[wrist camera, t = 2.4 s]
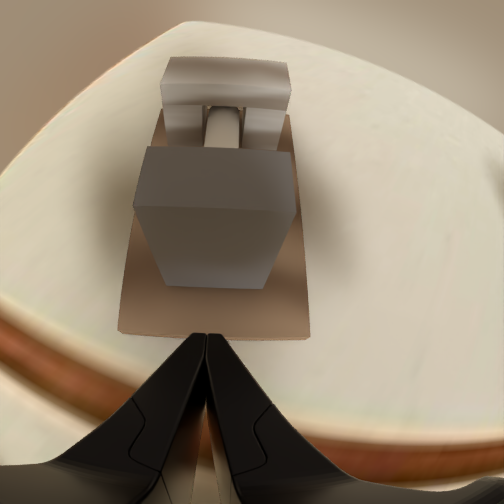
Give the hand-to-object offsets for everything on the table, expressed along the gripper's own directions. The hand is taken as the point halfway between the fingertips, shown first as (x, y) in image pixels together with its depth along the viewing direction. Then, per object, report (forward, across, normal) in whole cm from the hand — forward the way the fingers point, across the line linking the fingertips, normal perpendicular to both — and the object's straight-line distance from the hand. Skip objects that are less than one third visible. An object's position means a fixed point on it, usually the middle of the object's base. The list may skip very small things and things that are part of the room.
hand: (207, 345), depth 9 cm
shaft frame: (+16, 0, -1) cm, 16 cm away
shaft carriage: (+15, 0, -1) cm, 15 cm away
